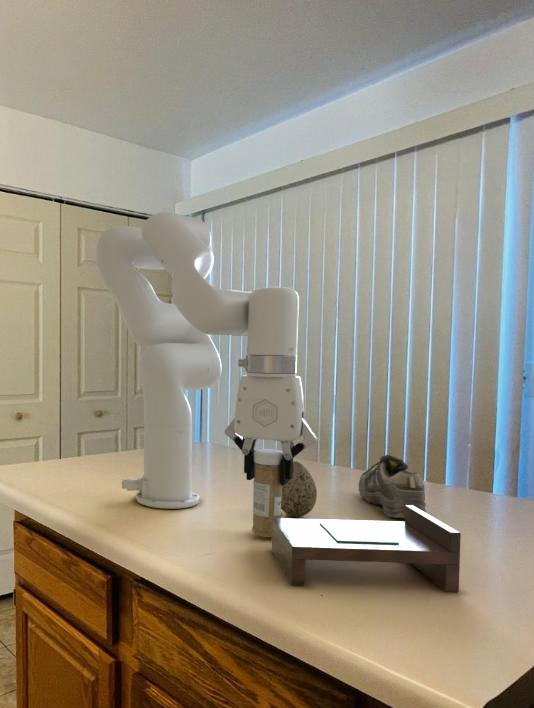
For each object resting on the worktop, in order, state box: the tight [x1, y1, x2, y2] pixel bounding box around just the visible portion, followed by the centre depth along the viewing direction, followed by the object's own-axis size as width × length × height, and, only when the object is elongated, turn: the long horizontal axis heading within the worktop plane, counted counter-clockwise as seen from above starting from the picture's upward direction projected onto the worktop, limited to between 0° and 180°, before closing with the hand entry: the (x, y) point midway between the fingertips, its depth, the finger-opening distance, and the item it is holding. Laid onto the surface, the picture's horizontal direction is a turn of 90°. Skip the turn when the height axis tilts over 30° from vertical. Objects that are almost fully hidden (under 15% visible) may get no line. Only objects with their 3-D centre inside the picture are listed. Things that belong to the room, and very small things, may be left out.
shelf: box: [270, 505, 462, 593], centre depth 71 cm, size 20×12×7 cm, turn 85°
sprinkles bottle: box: [251, 448, 284, 538], centre depth 84 cm, size 5×5×14 cm
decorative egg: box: [281, 461, 318, 518], centre depth 95 cm, size 7×7×10 cm
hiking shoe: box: [358, 454, 427, 519], centre depth 101 cm, size 9×21×12 cm
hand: (267, 479), depth 84 cm, fingers closed on sprinkles bottle, 4 cm apart
